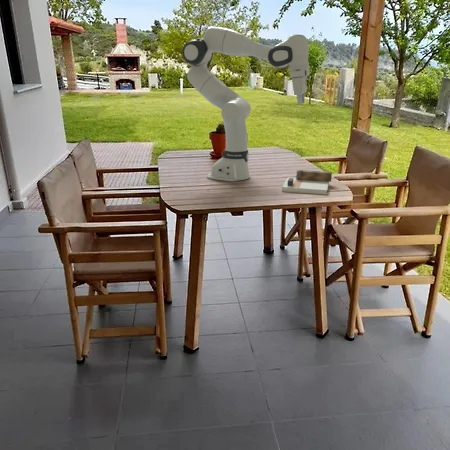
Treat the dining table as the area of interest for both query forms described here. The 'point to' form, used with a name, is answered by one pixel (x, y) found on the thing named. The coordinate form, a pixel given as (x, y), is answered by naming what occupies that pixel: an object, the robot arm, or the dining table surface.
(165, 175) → the dining table surface
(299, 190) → the board
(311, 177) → the stool leg
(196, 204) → the dining table surface
